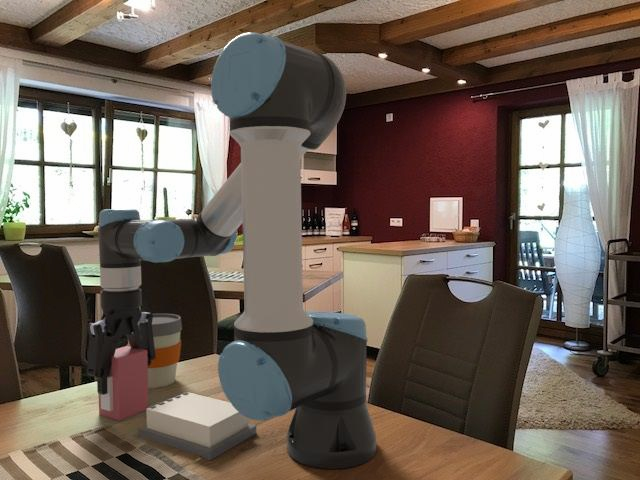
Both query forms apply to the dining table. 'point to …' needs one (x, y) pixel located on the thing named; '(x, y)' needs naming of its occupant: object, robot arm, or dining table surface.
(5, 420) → the dining table surface
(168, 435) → the white notepad
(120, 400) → the pink block
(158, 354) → the reusable coffee cup
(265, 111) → the robot arm
